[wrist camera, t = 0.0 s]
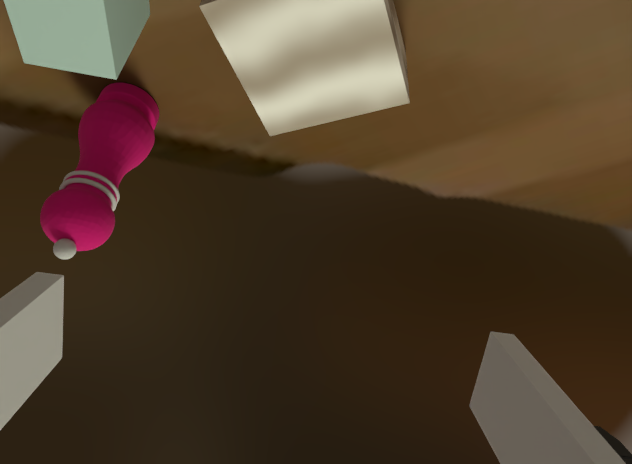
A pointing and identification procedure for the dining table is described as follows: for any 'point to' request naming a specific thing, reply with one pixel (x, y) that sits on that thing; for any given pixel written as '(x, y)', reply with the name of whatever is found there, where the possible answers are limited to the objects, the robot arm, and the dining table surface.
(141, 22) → the sage block
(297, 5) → the top block
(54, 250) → the pepper mill
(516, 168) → the dining table surface
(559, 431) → the robot arm
